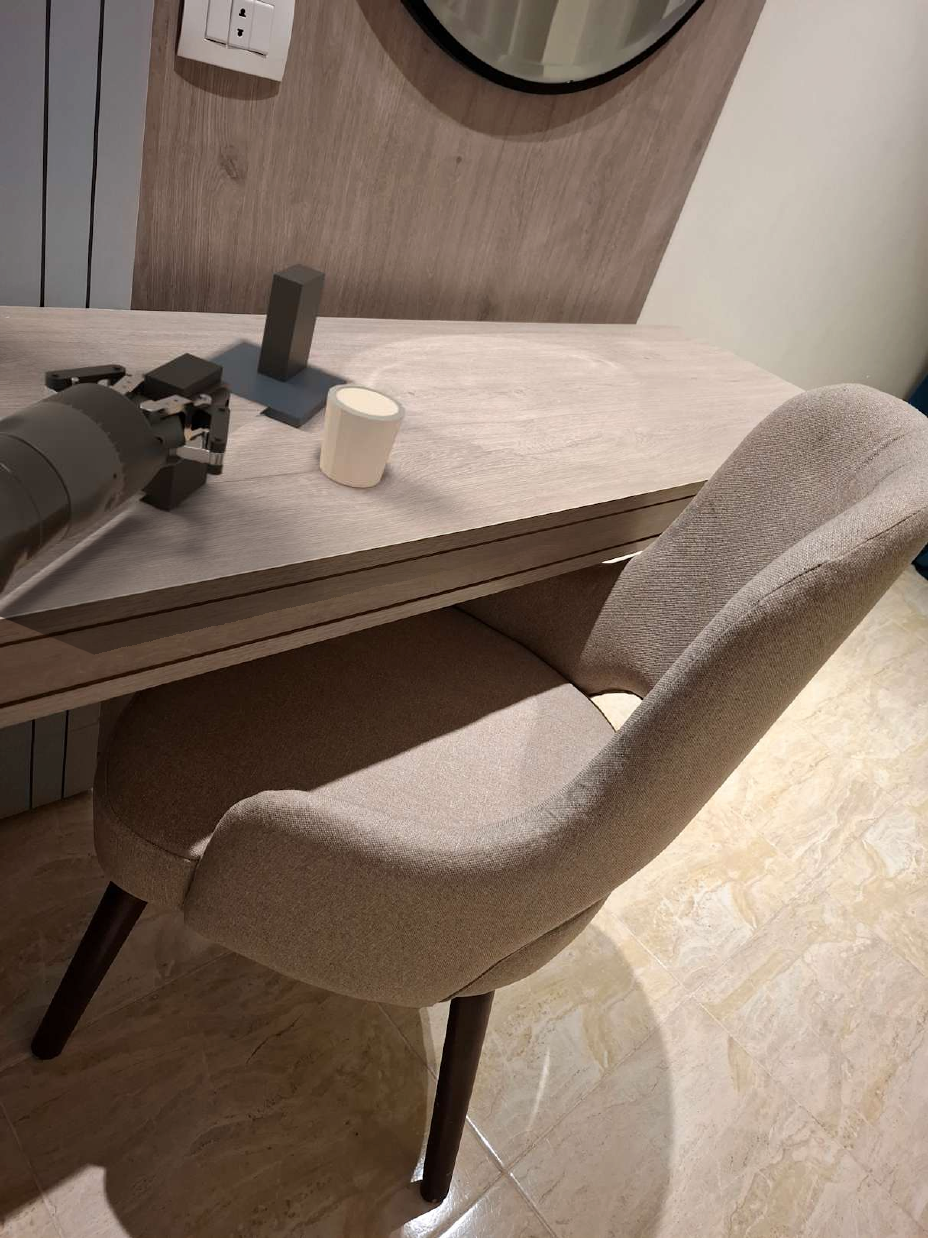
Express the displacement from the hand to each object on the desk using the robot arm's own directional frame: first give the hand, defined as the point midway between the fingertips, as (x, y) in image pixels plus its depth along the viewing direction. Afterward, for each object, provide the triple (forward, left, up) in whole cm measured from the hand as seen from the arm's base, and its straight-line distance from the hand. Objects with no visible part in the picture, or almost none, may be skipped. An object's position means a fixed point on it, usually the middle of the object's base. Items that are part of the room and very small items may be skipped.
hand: (200, 384), depth 69 cm
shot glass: (+10, +11, -8) cm, 17 cm away
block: (0, -3, -8) cm, 8 cm away
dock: (-3, +22, -8) cm, 24 cm away
